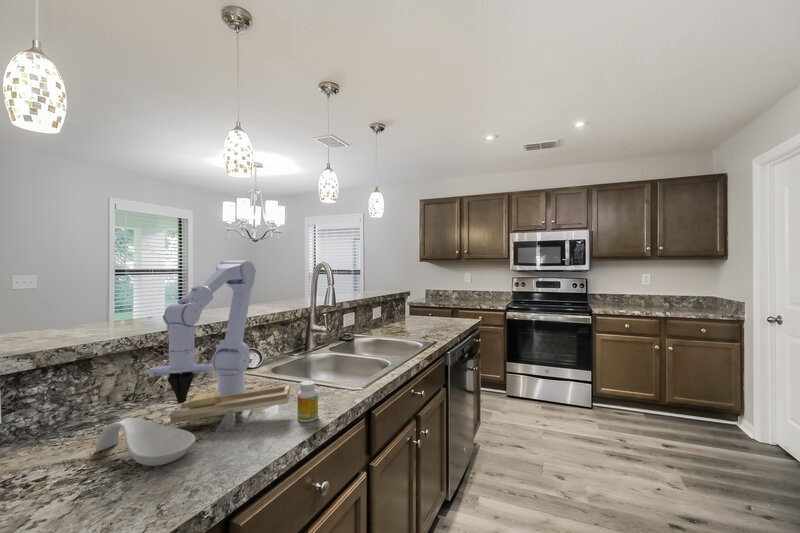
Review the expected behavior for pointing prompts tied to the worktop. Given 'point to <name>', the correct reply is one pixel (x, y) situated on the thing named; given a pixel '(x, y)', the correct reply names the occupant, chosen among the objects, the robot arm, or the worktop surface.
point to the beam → (234, 403)
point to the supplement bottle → (307, 402)
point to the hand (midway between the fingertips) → (181, 401)
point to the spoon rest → (148, 441)
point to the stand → (233, 421)
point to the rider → (205, 400)
